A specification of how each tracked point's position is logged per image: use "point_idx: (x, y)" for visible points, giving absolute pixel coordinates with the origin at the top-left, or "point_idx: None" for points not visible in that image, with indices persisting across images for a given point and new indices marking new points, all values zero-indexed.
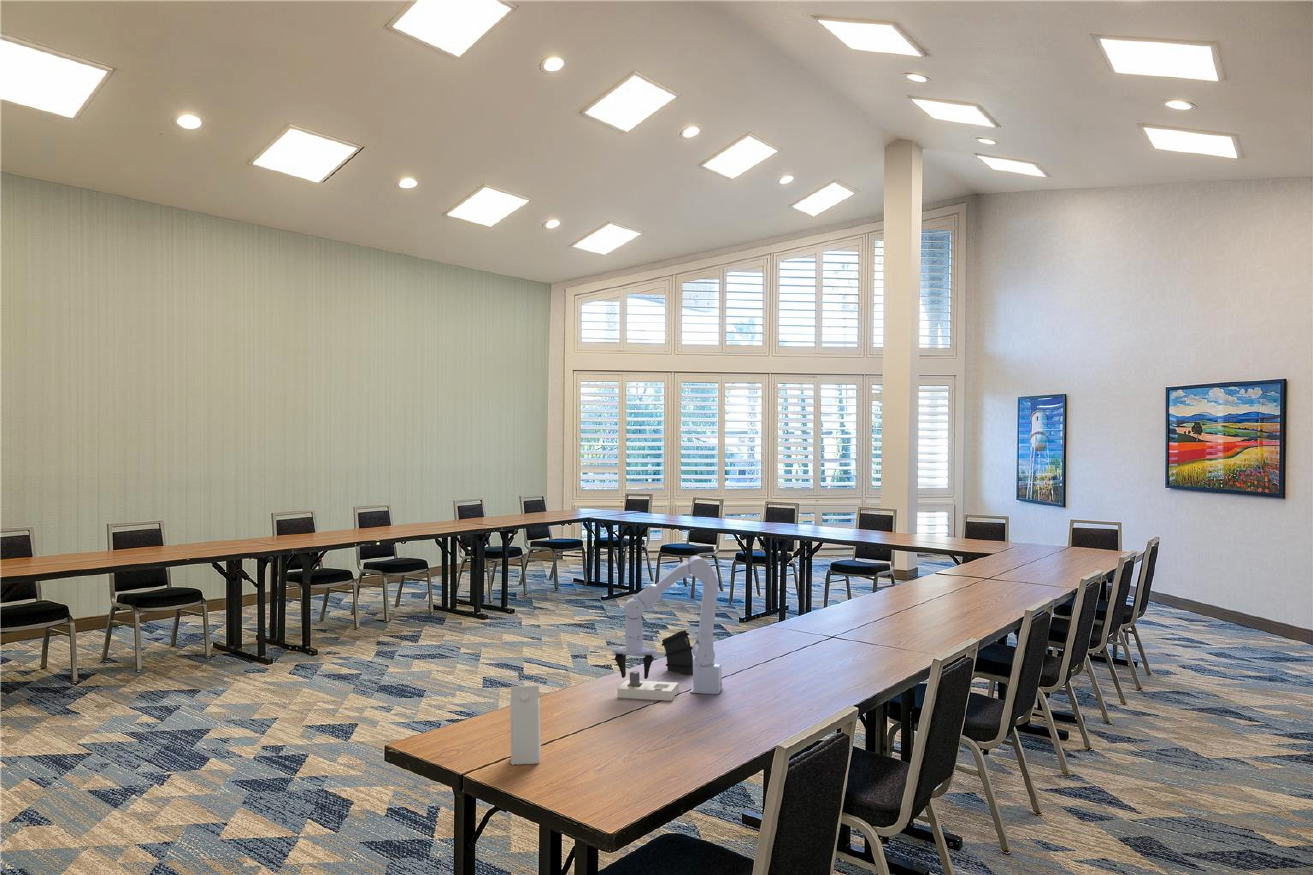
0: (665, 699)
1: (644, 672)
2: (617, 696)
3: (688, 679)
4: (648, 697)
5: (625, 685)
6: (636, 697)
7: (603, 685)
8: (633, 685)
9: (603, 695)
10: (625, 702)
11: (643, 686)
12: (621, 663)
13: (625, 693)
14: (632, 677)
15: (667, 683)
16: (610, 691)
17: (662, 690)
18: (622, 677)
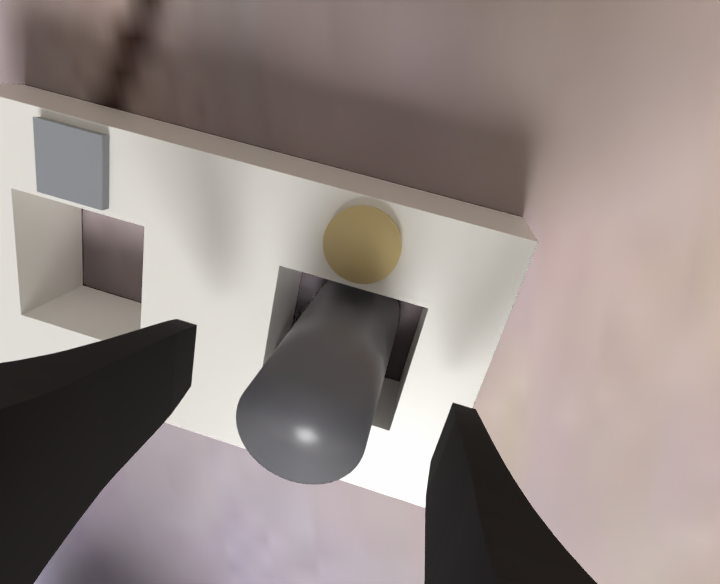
0: (67, 96)
1: (140, 347)
2: (524, 219)
3: (54, 554)
4: (214, 139)
5: (436, 339)
6: (331, 168)
7: (626, 565)
8: (346, 306)
9: (665, 302)
10: (441, 32)
11: (244, 281)
12: (498, 548)
13: (439, 202)
14: (335, 354)
15: (52, 350)
16: (579, 410)
17: (28, 113)
18: (471, 409)
